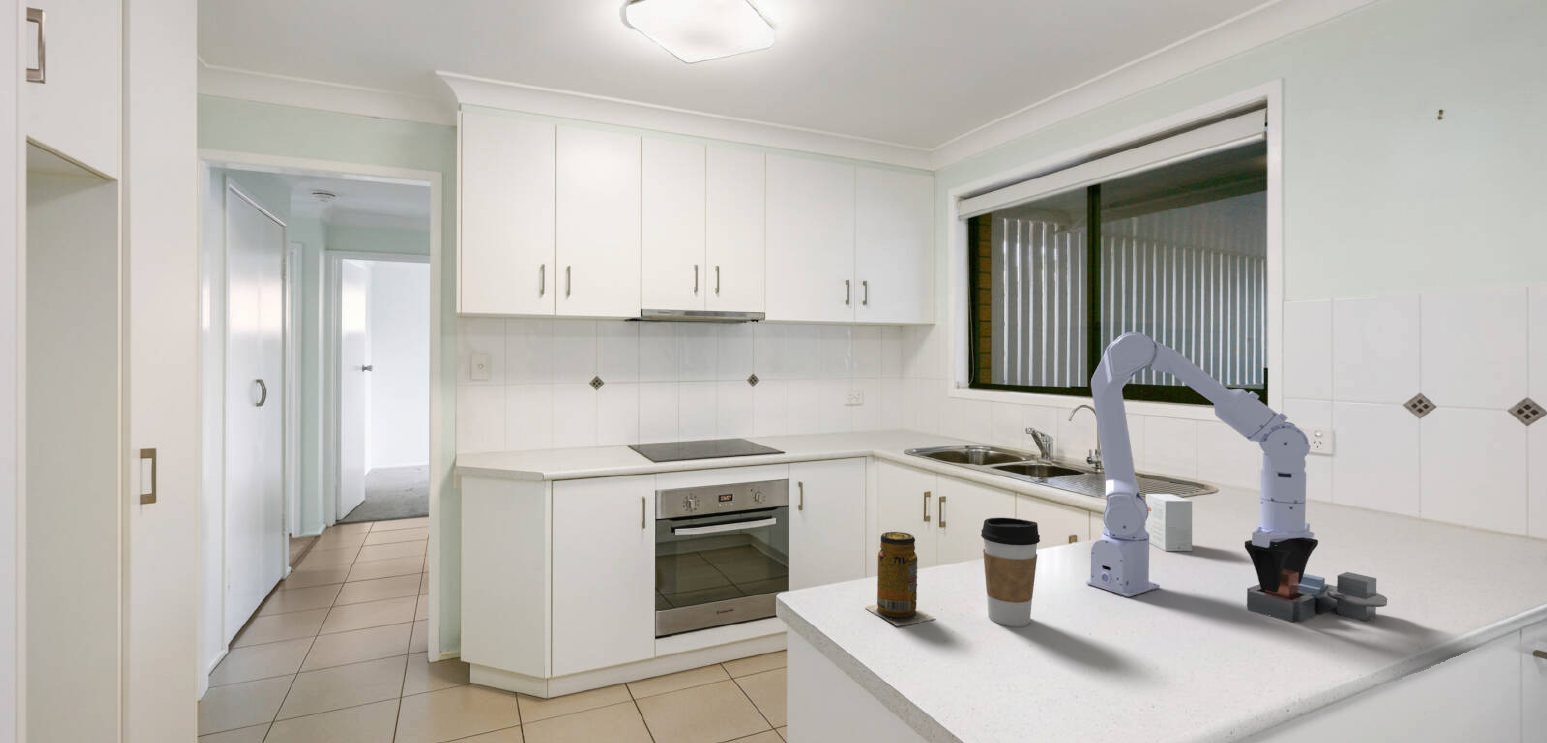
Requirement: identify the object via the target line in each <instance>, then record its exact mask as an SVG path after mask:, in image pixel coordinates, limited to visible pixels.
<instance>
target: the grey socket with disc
mask: <svg viewBox="0 0 1547 743" xmlns="http://www.w3.org/2000/svg"><path fill="white" fill-rule="evenodd" d="M1336 583H1337V584H1336V585H1332V584H1327V583H1325V584H1326V590H1325V591H1323V592H1320V593H1318V594H1315V595H1314V594H1310V593H1306V592H1302V591H1298V598H1296V599H1293V600H1289V599H1285V598H1282V597H1278V596H1274V595H1270V594H1266V593H1265V590H1264V589H1261V587H1260V584H1259V583H1258V584H1256V585H1254V586H1251V587H1248V588H1246V589H1247V592H1246V593H1247V595H1246V608H1247V611H1250V612H1255V613H1258V614H1261V613H1262V614H1261V615H1264V614H1266V615H1265V616H1268V615H1270V616H1269V617H1271V616H1273V617H1272V618H1274V617H1275V619H1278V618H1279V620H1281V619H1283V620H1282V621H1286V622H1289V623H1295V622H1297V621H1298V623H1302V621H1303V622H1305V621H1307V620H1309V618H1310V619H1312V618H1314V617H1316V615H1318V614H1320V615H1322V614H1324V613H1327V612H1329V611H1332V610H1333V609H1336V614H1337V613H1338V614H1337V615H1340V614H1341V615H1340V616H1343V615H1344V616H1345V617H1347V616H1348V618H1351V617H1352V619H1355V618H1356V620H1359V619H1360V621H1362V620H1363V621H1362V622H1368V621H1370V620H1372V619H1374V618H1376V611H1377V610H1376V609H1377V608H1381V607H1382V608H1384V607H1386V606H1387V605H1388V598H1387V597H1386V596H1385V595H1383V594H1381V593H1378V592H1377V578H1376V577H1372V576H1367V575H1362V574H1360V573H1359V574H1357V573H1353V572H1349V571H1346V572H1343V573H1341V574H1338V575H1337V582H1336ZM1315 613H1316V615H1315ZM1321 613H1322V614H1321ZM1313 616H1314V617H1313ZM1311 617H1312V618H1311ZM1371 618H1372V619H1371ZM1369 619H1370V620H1369ZM1304 620H1305V621H1304ZM1367 620H1368V621H1367Z"/></svg>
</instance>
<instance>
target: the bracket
mask: <svg viewBox="0 0 1547 743" xmlns="http://www.w3.org/2000/svg"><path fill="white" fill-rule="evenodd" d="M1325 581H1326V579H1325V577H1322V576H1318V575H1314V574H1307V573H1304V574H1303V577H1302V580H1301V582H1300V584H1298V591H1302V592H1306V593H1310V594H1314V595H1315V594H1318V593H1320V592H1323V591H1325V590H1326V584H1327V583H1325Z"/></svg>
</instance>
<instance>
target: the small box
mask: <svg viewBox="0 0 1547 743" xmlns="http://www.w3.org/2000/svg"><path fill="white" fill-rule="evenodd" d="M1145 502H1146V504H1147V506H1148V510H1149V514H1148V518H1147V520H1146V521H1145V530H1146V531H1147V532H1148V533H1149V545H1150V544H1151V545H1152V546H1155V547H1156V548H1158V549H1160V550H1162V551H1165V552H1192V551H1193V501H1192V500H1189V499H1186V498H1183V497H1180V496H1178V495H1174V494H1170V493H1146V494H1145Z"/></svg>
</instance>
